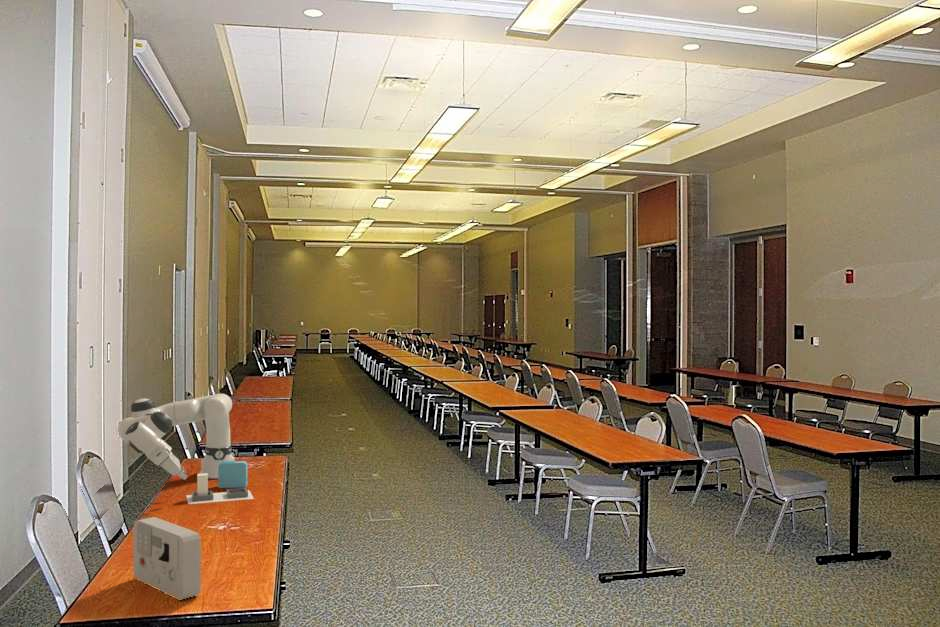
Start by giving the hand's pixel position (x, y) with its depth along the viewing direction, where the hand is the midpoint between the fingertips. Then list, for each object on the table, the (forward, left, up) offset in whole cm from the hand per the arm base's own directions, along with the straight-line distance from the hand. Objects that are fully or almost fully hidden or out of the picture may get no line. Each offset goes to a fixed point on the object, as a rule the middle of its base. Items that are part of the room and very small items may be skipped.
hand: (185, 475), depth 320 cm
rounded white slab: (+102, -9, -11) cm, 103 cm away
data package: (-18, +21, -11) cm, 30 cm away
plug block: (0, +7, -10) cm, 12 cm away
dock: (0, +14, -11) cm, 18 cm away
